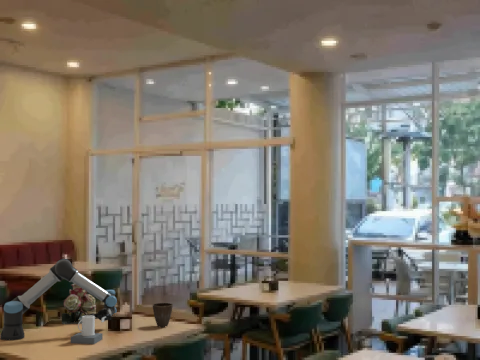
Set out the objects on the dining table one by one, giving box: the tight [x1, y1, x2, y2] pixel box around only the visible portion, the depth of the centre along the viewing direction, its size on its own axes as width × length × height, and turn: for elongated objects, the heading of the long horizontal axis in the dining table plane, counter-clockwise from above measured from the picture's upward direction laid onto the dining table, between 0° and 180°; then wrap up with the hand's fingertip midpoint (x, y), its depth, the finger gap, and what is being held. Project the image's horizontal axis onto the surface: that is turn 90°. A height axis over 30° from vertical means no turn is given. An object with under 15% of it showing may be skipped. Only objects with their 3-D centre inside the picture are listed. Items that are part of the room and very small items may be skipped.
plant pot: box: [152, 302, 173, 328], centre depth 434 cm, size 15×15×16 cm
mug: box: [77, 315, 96, 336], centre depth 382 cm, size 12×8×12 cm
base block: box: [70, 331, 103, 345], centre depth 382 cm, size 16×14×4 cm
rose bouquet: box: [61, 283, 97, 325], centre depth 450 cm, size 26×29×30 cm
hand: (92, 319), depth 391 cm, fingers open, 13 cm apart
